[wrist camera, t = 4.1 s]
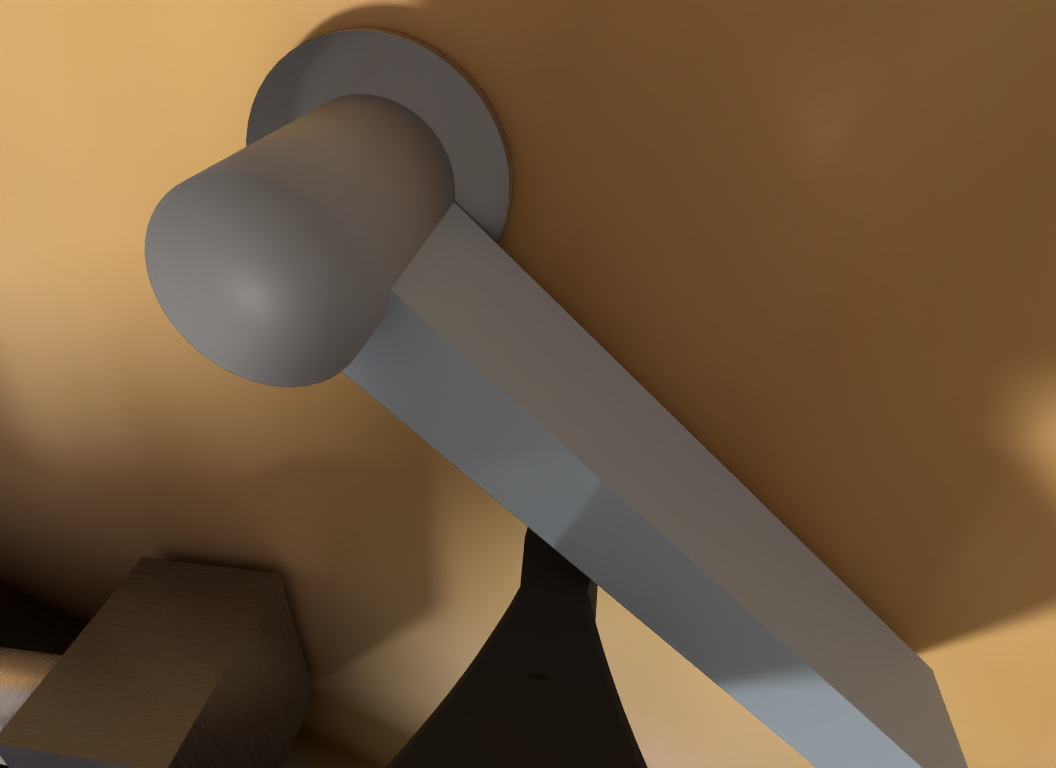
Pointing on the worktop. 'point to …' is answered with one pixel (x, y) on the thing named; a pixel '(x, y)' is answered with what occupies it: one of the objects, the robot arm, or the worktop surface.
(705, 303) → the worktop surface
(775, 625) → the grey lever bar
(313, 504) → the worktop surface
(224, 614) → the hook rod
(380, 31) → the base
